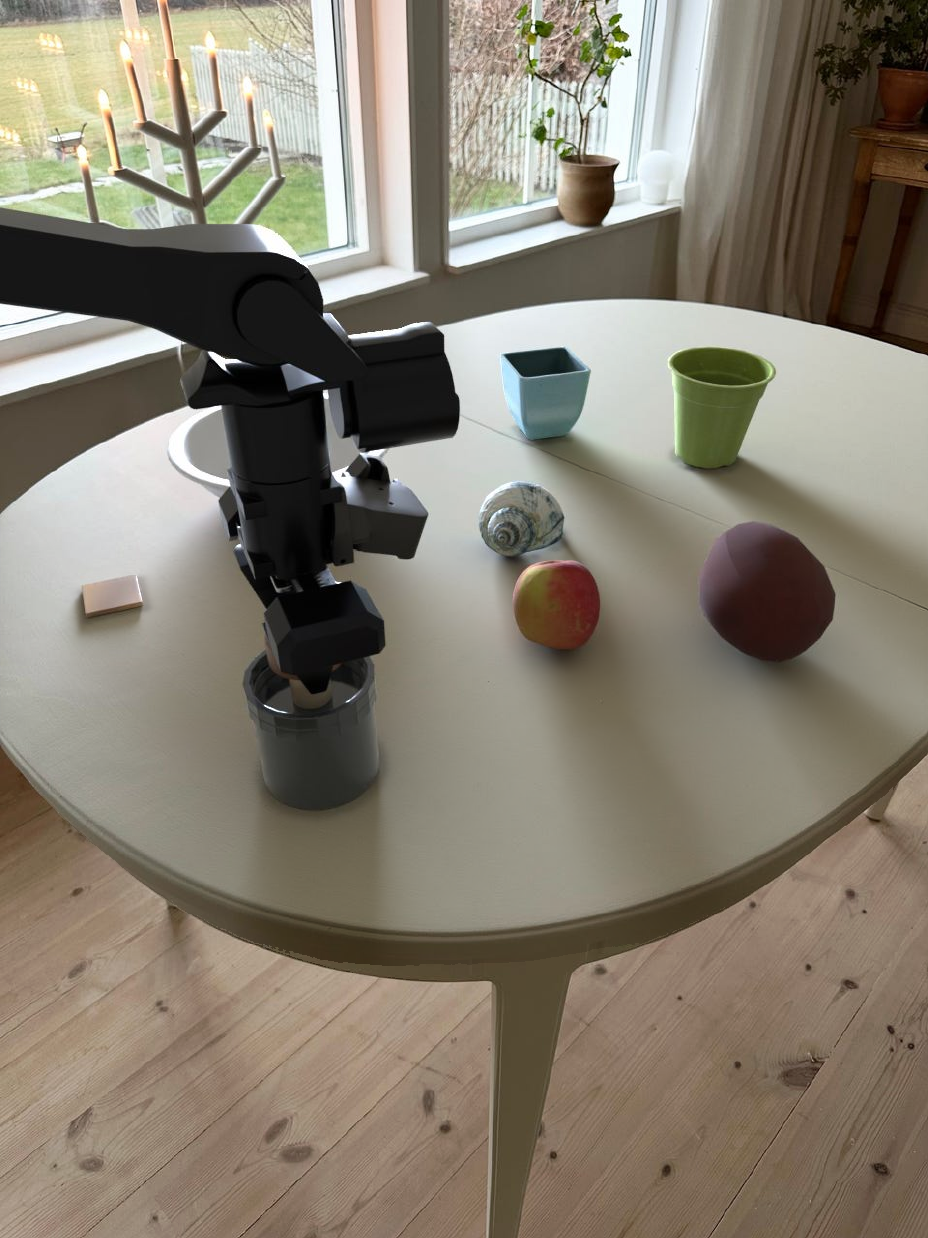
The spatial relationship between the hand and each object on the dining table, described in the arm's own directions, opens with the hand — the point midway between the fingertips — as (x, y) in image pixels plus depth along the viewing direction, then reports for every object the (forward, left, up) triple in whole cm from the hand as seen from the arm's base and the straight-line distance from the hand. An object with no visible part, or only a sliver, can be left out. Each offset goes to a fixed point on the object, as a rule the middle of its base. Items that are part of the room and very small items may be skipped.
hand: (308, 667), depth 63 cm
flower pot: (+41, +46, -10) cm, 62 cm away
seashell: (+27, +23, -10) cm, 37 cm away
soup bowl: (+8, +43, -10) cm, 45 cm away
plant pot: (+56, +32, -10) cm, 65 cm away
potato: (+39, 0, -10) cm, 40 cm away
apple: (+23, +7, -10) cm, 26 cm away
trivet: (-12, +29, -10) cm, 33 cm away
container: (0, 0, -10) cm, 10 cm away
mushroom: (0, 0, -3) cm, 3 cm away
